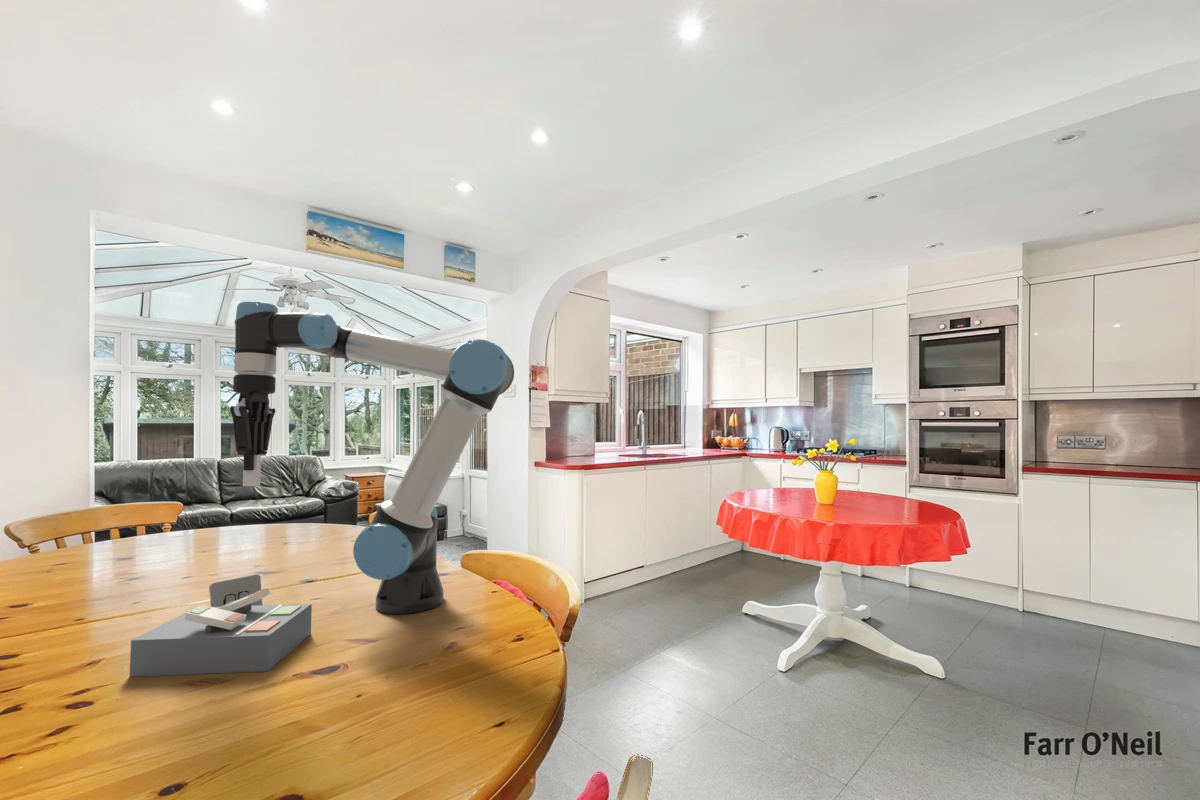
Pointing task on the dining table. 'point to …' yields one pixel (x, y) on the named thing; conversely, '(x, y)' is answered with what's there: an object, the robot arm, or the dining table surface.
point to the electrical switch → (234, 590)
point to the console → (221, 643)
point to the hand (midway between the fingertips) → (251, 485)
